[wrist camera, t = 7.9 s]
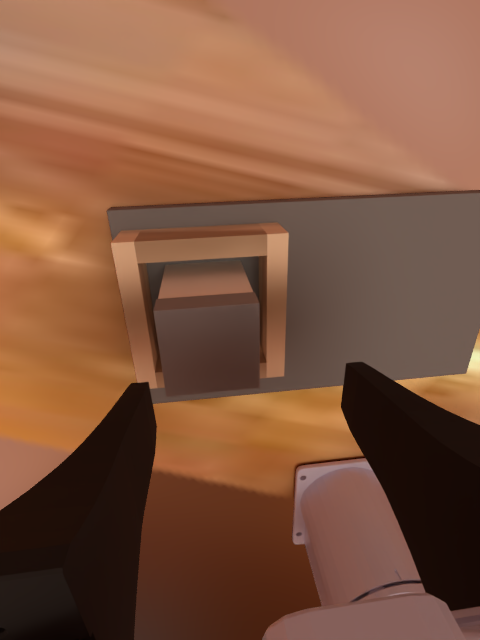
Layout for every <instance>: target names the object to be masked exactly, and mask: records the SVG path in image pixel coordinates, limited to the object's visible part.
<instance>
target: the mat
mask: <svg viewBox="0 0 480 640" xmlns="http://www.w3.org/2000/svg"><path fill="white" fill-rule="evenodd" d="M107 214H108V220H109V225H110V230H111V236H112V241H113V240H114V239H115V237H116V236H117V235H118V234H119V232H120V231H125V230H144V229H162V228H181V227H200V226H219V225H238V224H257V223H275V222H277V223H279V224H280V225H281V226H282V227H283V228H284V229H285V230H286V231H287V232H288V233H289V239H288V271H287V302H286V334H285V366H284V376H282V377H271V378H261V379H260V388H254V389H244V390H233V391H223V392H213V393H202V394H192V395H181V396H171V397H166V392H165V387H164V388H153V389H150V392H151V398H152V403H153V404H156V403H166V402H176V401H186V400H197V399H207V398H217V397H228V396H238V395H248V394H259V393H269V392H279V391H290V390H300V389H310V388H320V387H331V386H341V385H344V376H345V367H346V363H352V362H364V363H366V364H367V365H369V366H371V367H372V368H374V369H376V370H377V371H379V372H380V373H382V374H384V375H385V376H387V377H388V378H390V379H392V380H403V379H413V378H423V377H434V376H444V375H454V374H465V373H466V372H467V368H468V365H469V362H470V358H471V355H472V352H473V348H474V345H475V342H476V339H477V335H478V332H479V329H480V190H470V191H449V192H427V193H406V194H385V195H364V196H343V197H321V198H300V199H279V200H258V201H237V202H215V203H194V204H173V205H152V206H131V207H111V208H110V209H108V210H107ZM234 260H240V261H241V263H242V266H243V268H244V271H245V273H246V276H247V278H248V281H249V283H250V285H251V288H252V290H253V292H255V294H256V296H257V299H258V301H259V256H252V257H235V258H219V259H203V260H187V261H170V262H154V263H146V265H147V272H148V279H149V286H150V292H151V299H152V306H153V311H154V307H155V302H156V299H158V296H159V292H160V287H161V283H162V278H163V274H164V269H165V265H171V264H186V263H202V262H218V261H234ZM154 319H155V318H154ZM155 326H156V325H155ZM157 339H158V338H157ZM158 346H159V345H158Z"/></svg>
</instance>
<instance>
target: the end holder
mask: <svg viewBox="0 0 480 640" xmlns="http://www.w3.org/2000/svg"><path fill="white" fill-rule="evenodd" d="M288 239H289V233H288V232H287V231H286V230H285V229H284V228H283V227H282V226H281V225H280V224H279V223H277V222H275V223H257V224H238V225H219V226H200V227H181V228H162V229H144V230H125V231H120V232H119V234H118V235H117V236H116V237H115V239H114V240H113V241H112V242H111V247H112V252H113V257H114V263H115V268H116V273H117V278H118V284H119V289H120V294H121V300H122V305H123V310H124V315H125V321H126V326H127V331H128V336H129V342H130V347H131V352H132V357H133V363H134V368H135V373H136V379H137V383H141V382H149V387H150V389H153V388H164V387H165V385H164V378H163V372H162V365H161V358H160V352H159V346H158V339H157V332H156V326H155V319H154V312H153V306H152V299H151V292H150V286H149V279H148V272H147V265H146V263H154V262H170V261H187V260H203V259H219V258H235V257H252V256H259V320H260V379H261V378H271V377H282V376H284V366H285V334H286V302H287V271H288Z"/></svg>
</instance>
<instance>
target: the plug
mask: <svg viewBox="0 0 480 640" xmlns="http://www.w3.org/2000/svg"><path fill="white" fill-rule="evenodd" d="M153 312H154V318H155V325H156V332H157V338H158V345H159V352H160V358H161V365H162V372H163V378H164V385H165V392H166V397H171V396H181V395H192V394H202V393H213V392H223V391H233V390H244V389H254V388H260V320H259V301H258V299H257V296H256V294H255V292H253V290H252V288H251V285H250V283H249V281H248V278H247V276H246V273H245V271H244V268H243V266H242V263H241V261H240V260H234V261H218V262H202V263H186V264H171V265H165V269H164V274H163V278H162V283H161V287H160V292H159V296H158V299H156V302H155V307H154V311H153Z"/></svg>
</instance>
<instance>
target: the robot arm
mask: <svg viewBox="0 0 480 640" xmlns="http://www.w3.org/2000/svg"><path fill="white" fill-rule="evenodd" d="M341 408H342V411H343V414H344V416H345V419H346V421H347V424H348V426H349V429H350V431H351V433H352V435H353V437H354V438H355V440H356V442H357V444H358V446H359V447H360V449H361V451H362V453H363V454H364V456H365V458H361V459H353V460H344V461H335V462H327V463H318V464H310V465H302V466H299V467H298V468H297V469H296V478H295V496H294V514H293V532H292V540H293V543H294V544H296V545H297V544H305V547H306V550H307V554H308V558H309V561H310V565H311V568H312V572H313V576H314V579H315V583H316V586H317V590H318V593H319V597H320V601H321V604H322V607H316V608H310V609H305V610H302V611H298V612H295V613H292V614H288V615H285V616H283V617H282V618H281V619H279V620H278V621H276V622H275V623H273V624H272V625H270V626H269V628H268V629H267V631H266V632H265V634H264V637H263V639H262V640H480V425H478V424H476V423H473V422H471V421H468V420H466V419H464V418H462V417H460V416H457V415H455V414H453V413H451V412H449V411H447V410H445V409H443V408H441V407H439V406H437V405H435V404H433V403H431V402H429V401H427V400H426V399H424V398H422V397H420V396H418V395H417V394H415V393H413V392H411V391H410V390H408V389H406V388H405V387H403V386H401V385H400V384H398V383H396V382H395V381H393V380H392V379H390V378H388V377H387V376H385V375H384V374H382V373H380V372H379V371H377V370H376V369H374V368H372V367H371V366H369V365H367V364H366V363H364V362H352V363H346V367H345V376H344V385H343V394H342V402H341ZM156 429H157V426H156V420H155V415H154V409H153V403H152V398H151V392H150V387H149V382H141V383H131V384H130V385H129V386H128V388H127V389H126V390H125V392H124V393H123V394H122V396H121V397H120V398H119V400H118V401H117V402H116V404H115V405H114V406H113V408H112V409H111V410H110V411H109V413H108V414H107V415H106V416H105V418H104V419H103V420H102V421H101V423H100V424H99V425H98V426H97V427H96V428H95V430H94V431H93V432H92V433H91V434H90V435H89V436H88V437H87V438H86V440H85V441H84V442H83V443H82V444H81V445H80V446H79V447H78V448H77V449H76V450H75V451H74V452H73V453H72V454H71V455H70V456H69V457H68V458H67V459H66V460H65V461H64V462H62V464H60V465H59V466H58V467H57V468H56V469H54V470H53V471H52V472H51V473H49V474H48V475H47V476H46V477H45V478H43V479H42V480H41V481H40V482H38V483H37V484H36V485H35V486H33V487H32V488H31V489H30V490H28V491H27V492H26V493H24V494H23V495H21V496H20V497H19V498H17V499H16V500H15V501H13V502H12V503H10V504H9V505H7V506H6V507H4V508H3V509H2V510H0V640H134V626H135V610H136V594H137V580H138V565H139V554H140V543H141V531H142V523H143V516H144V510H145V505H146V499H147V494H148V489H149V483H150V478H151V473H152V467H153V462H154V456H155V446H156Z"/></svg>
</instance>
